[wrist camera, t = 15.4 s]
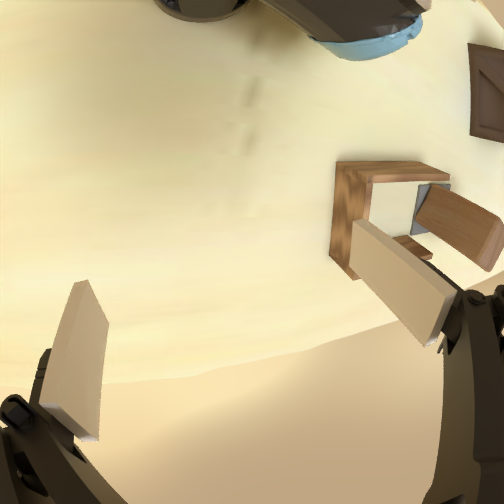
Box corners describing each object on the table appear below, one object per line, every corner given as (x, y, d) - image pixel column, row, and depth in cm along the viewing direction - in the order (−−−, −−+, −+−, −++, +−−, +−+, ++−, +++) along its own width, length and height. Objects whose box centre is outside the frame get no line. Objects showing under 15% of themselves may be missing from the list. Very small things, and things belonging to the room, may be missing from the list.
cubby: (336, 161, 46) (367, 175, 38) (418, 161, 51) (450, 174, 43) (329, 255, 55) (353, 280, 48) (405, 239, 60) (431, 258, 52)
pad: (418, 184, 53) (420, 185, 53) (448, 183, 56) (450, 184, 55) (409, 234, 59) (411, 235, 59) (439, 228, 62) (441, 229, 61)
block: (449, 198, 57) (511, 234, 41) (431, 232, 61) (490, 274, 44) (431, 181, 53) (501, 217, 36) (412, 219, 57) (478, 264, 40)
